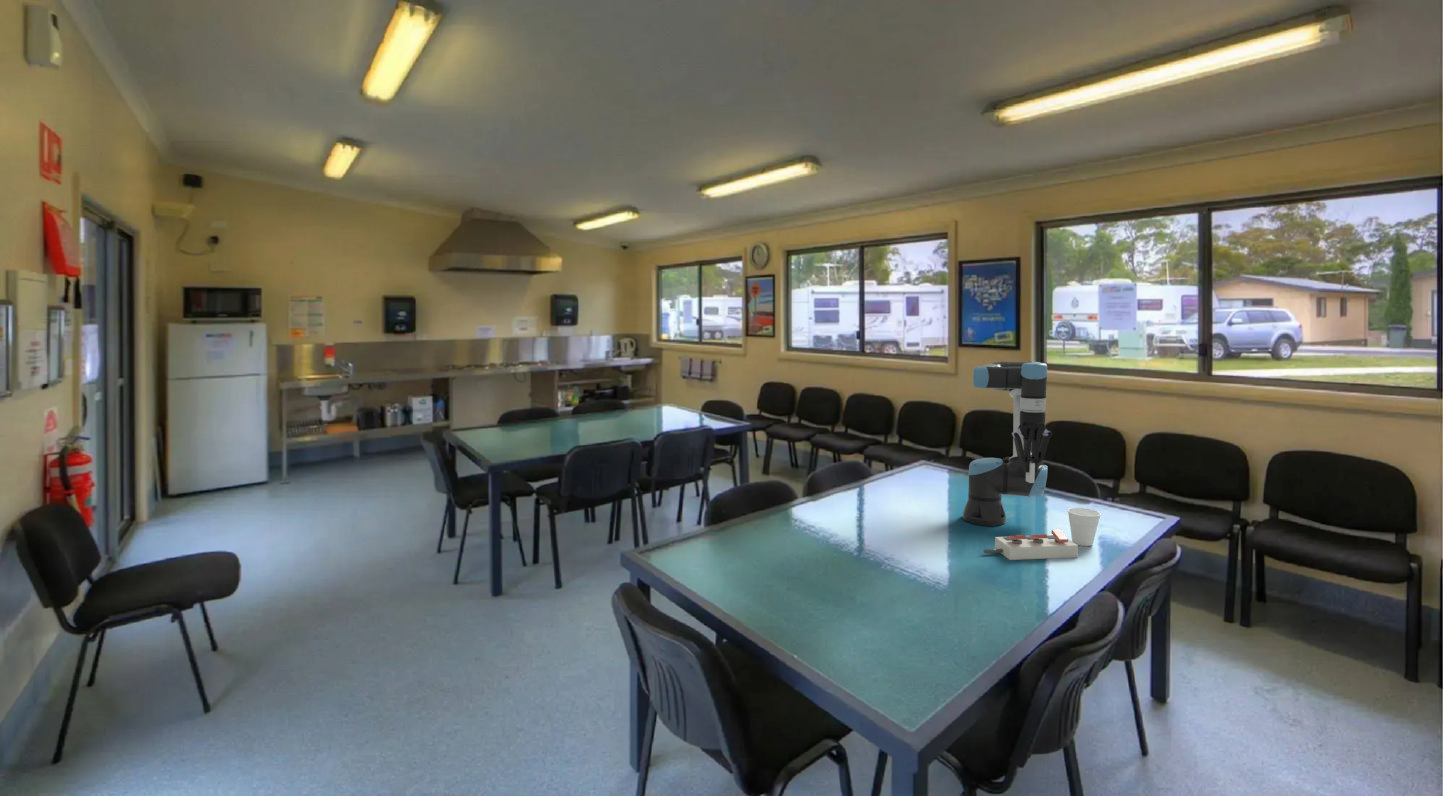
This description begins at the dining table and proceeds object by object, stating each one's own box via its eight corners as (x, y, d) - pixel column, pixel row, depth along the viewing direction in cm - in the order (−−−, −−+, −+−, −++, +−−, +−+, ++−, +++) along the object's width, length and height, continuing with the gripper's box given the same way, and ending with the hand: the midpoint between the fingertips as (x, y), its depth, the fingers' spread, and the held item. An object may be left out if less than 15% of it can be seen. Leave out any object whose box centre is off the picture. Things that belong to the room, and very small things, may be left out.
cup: (1104, 549, 211) (1105, 516, 210) (1071, 547, 213) (1072, 515, 212) (1093, 539, 221) (1094, 507, 220) (1061, 537, 223) (1063, 506, 222)
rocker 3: (1051, 532, 210) (1052, 529, 209) (1059, 532, 210) (1060, 529, 210) (1059, 542, 206) (1060, 539, 205) (1067, 542, 206) (1068, 539, 205)
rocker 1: (1009, 539, 209) (1008, 535, 210) (1017, 539, 209) (1017, 535, 210) (1016, 539, 204) (1016, 535, 205) (1025, 539, 204) (1024, 534, 205)
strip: (977, 549, 214) (977, 534, 213) (1059, 546, 215) (1060, 531, 214) (991, 560, 204) (991, 545, 203) (1077, 557, 205) (1078, 542, 204)
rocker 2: (1030, 538, 210) (1030, 534, 210) (1039, 538, 210) (1038, 534, 210) (1038, 538, 205) (1037, 534, 205) (1047, 538, 205) (1046, 534, 205)
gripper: (1018, 412, 205) (1016, 485, 208) (1058, 411, 205) (1055, 484, 208) (1007, 409, 212) (1005, 479, 215) (1046, 408, 213) (1043, 478, 216)
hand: (1029, 481), depth 212 cm, fingers closed
